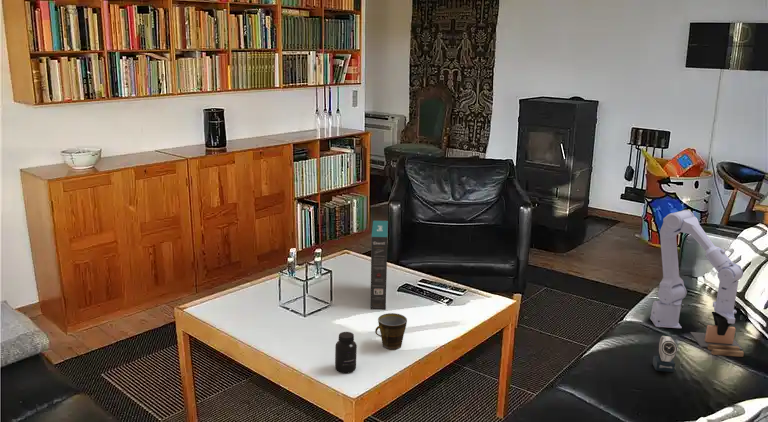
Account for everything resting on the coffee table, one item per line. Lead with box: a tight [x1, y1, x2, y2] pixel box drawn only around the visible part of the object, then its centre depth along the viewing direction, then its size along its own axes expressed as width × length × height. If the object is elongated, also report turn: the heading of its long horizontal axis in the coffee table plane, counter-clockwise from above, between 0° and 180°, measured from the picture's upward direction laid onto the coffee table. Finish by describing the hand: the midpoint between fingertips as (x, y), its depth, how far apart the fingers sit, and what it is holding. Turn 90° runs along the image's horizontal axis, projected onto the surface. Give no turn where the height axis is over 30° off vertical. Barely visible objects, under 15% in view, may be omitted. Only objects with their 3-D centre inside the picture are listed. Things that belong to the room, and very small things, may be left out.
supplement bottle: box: [334, 331, 358, 375], centre depth 201 cm, size 7×7×12 cm
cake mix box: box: [370, 220, 389, 311], centre depth 254 cm, size 22×6×30 cm, turn 179°
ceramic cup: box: [374, 312, 408, 351], centre depth 216 cm, size 13×10×10 cm
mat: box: [689, 331, 744, 351], centre depth 227 cm, size 14×11×1 cm
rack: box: [707, 344, 745, 358], centre depth 218 cm, size 10×5×2 cm, turn 83°
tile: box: [705, 324, 737, 344], centre depth 224 cm, size 9×2×6 cm, turn 83°
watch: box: [652, 335, 679, 373], centre depth 205 cm, size 6×8×11 cm
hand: (719, 333), depth 224 cm, fingers closed on tile, 1 cm apart
